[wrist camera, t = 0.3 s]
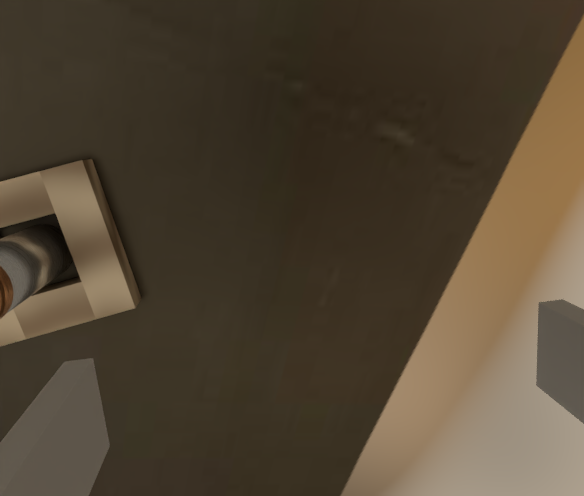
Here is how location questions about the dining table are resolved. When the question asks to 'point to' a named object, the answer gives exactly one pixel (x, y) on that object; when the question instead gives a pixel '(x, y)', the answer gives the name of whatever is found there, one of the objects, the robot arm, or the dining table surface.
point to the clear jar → (30, 263)
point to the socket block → (83, 247)
